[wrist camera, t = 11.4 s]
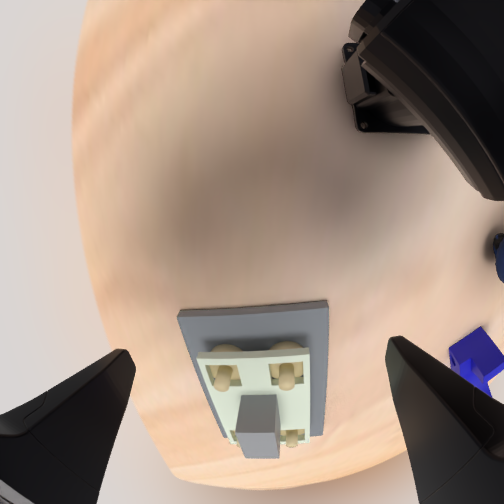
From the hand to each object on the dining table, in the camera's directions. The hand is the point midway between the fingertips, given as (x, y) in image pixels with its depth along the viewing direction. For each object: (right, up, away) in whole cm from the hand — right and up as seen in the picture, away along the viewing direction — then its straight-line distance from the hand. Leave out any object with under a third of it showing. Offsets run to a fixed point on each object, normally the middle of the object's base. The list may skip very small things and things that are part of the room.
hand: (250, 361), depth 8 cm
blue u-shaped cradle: (+26, -10, +15) cm, 31 cm away
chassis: (+1, -10, +17) cm, 19 cm away
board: (+1, -11, +14) cm, 18 cm away
